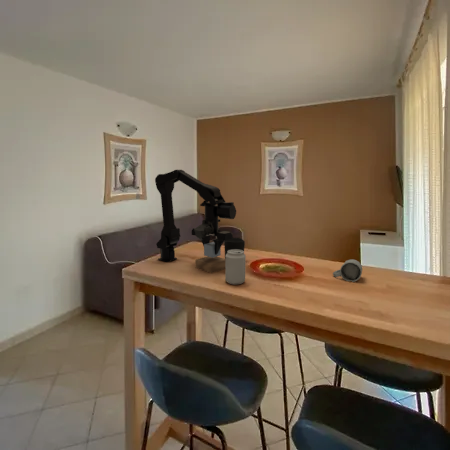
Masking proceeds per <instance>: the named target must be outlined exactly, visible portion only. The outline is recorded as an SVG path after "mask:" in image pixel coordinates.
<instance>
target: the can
mask: <svg viewBox="0 0 450 450" xmlns="http://www.w3.org/2000/svg"><path fill="white" fill-rule="evenodd" d="M227 252H228V253H227V254H226V267H225V269H224V271H225V273H224V274H225V276H224V277H225V282H227V284H230V285H236V286H237V285H241V284H243V283H244V282H245V281H246V262H247V261H246V259H247V258H246V257H247V256H246V254H245V250H244V251H242V250H235V249H234V250H228V251H227Z"/></svg>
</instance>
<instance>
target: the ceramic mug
mask: <svg viewBox="0 0 450 450" xmlns="http://www.w3.org/2000/svg"><path fill="white" fill-rule="evenodd" d="M362 274H363V266H362V264H361V262H360V261H358V260H356V259H347V260H345V262H344V263H343V264H342V265H341V266H340V268H339V269H337V270H335V271H333V272H332V275H333V277H335V278H338V277H341V278H342V279H343V280H344V281H346V282H349V281H352V283H355V282H356V281H358V280H360V278H361V277H362Z"/></svg>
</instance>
